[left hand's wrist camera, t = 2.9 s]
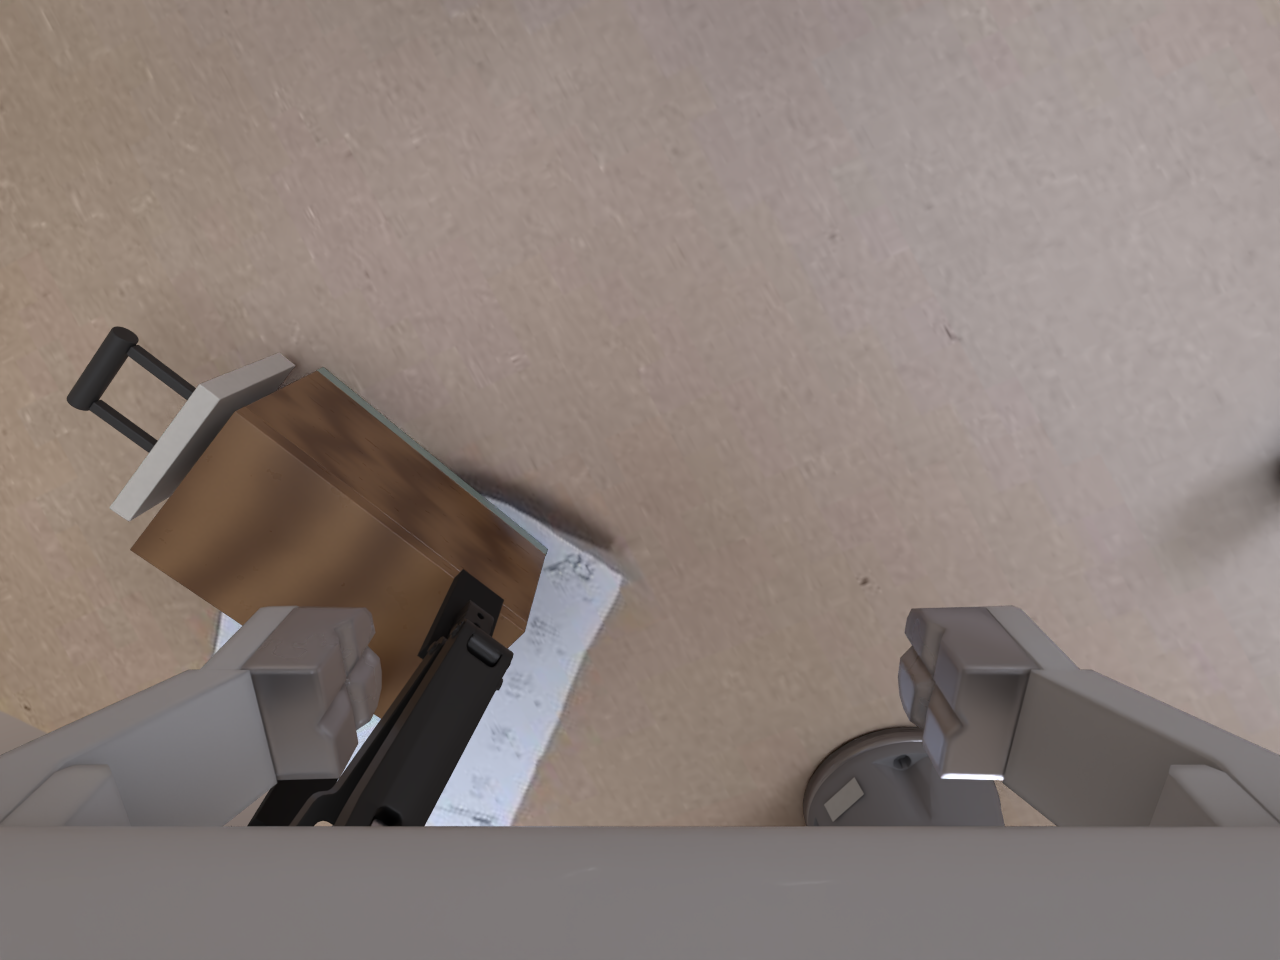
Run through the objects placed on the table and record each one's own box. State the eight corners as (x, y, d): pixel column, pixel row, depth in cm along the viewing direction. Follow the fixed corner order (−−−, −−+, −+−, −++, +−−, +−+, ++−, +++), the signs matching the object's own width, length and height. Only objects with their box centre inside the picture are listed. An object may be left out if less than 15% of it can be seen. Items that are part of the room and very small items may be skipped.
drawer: (119, 398, 43) (6, 438, 35) (196, 285, 41) (93, 303, 33) (416, 615, 49) (375, 691, 41) (500, 529, 46) (473, 592, 39)
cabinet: (233, 480, 46) (129, 549, 37) (323, 366, 43) (234, 410, 34) (454, 641, 51) (412, 740, 41) (547, 549, 48) (525, 632, 39)
